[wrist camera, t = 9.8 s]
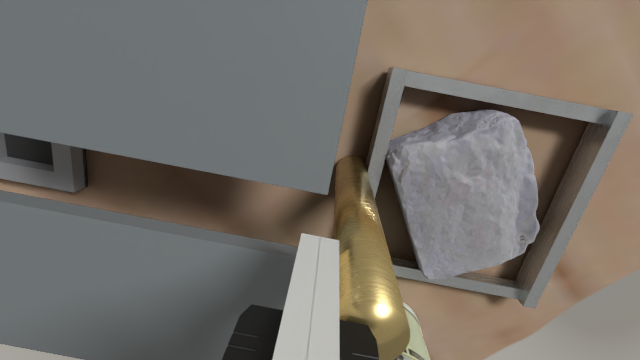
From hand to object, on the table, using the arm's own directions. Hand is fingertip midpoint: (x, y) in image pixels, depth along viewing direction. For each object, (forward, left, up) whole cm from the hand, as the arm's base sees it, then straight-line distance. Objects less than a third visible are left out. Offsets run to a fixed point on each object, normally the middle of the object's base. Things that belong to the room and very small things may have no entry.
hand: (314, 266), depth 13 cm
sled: (0, +10, -14) cm, 17 cm away
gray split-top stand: (0, -9, -14) cm, 17 cm away
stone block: (0, +11, -14) cm, 18 cm away
